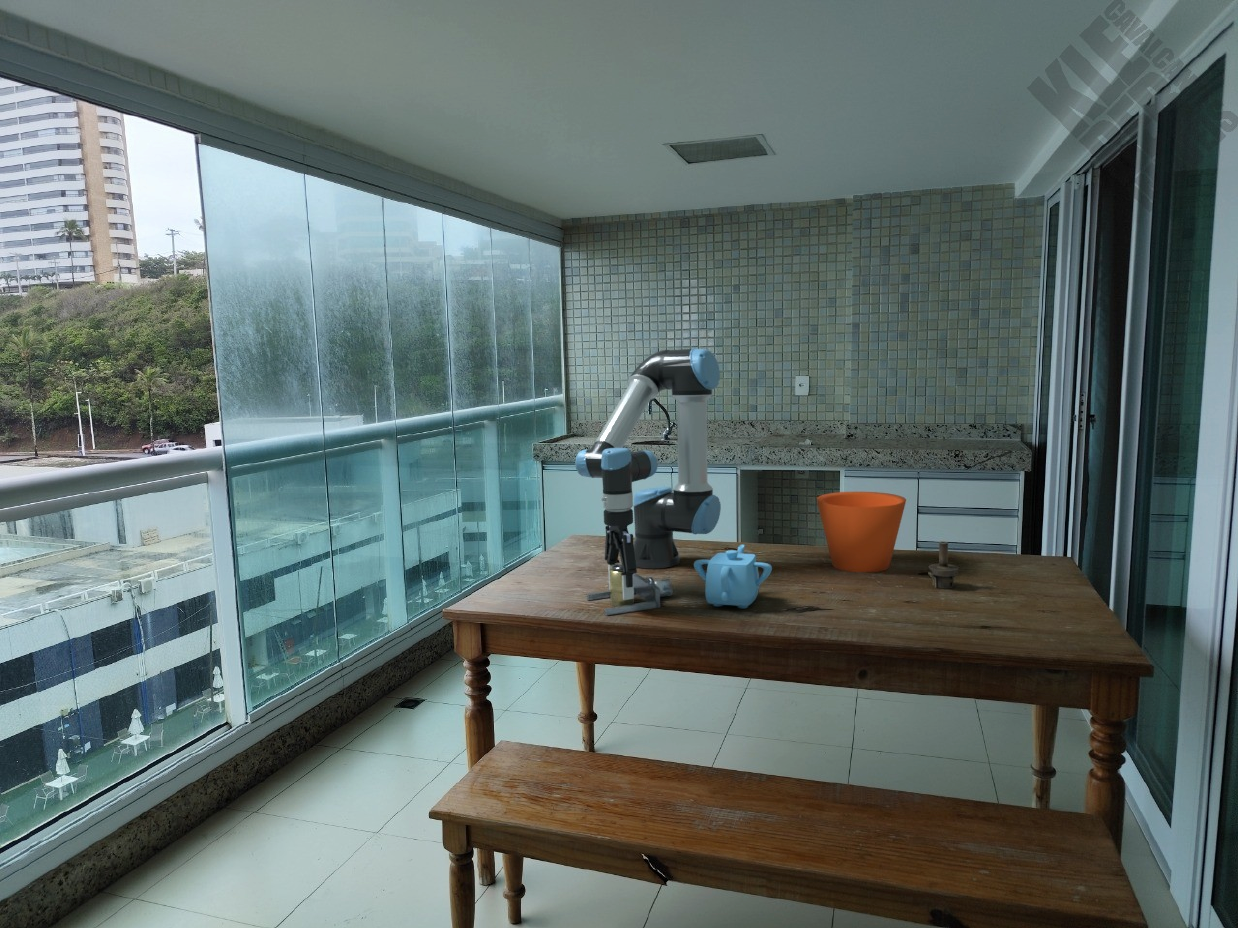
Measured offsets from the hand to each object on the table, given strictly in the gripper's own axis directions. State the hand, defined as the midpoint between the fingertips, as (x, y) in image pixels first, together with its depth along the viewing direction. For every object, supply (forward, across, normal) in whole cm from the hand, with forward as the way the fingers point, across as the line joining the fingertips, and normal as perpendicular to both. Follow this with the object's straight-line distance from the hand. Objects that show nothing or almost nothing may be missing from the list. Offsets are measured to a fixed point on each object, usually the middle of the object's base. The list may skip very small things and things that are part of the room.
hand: (621, 593), depth 213 cm
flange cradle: (+3, 0, +3) cm, 4 cm away
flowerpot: (+3, -2, +76) cm, 76 cm away
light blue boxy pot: (+3, +11, +27) cm, 29 cm away
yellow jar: (+3, 0, 0) cm, 3 cm away
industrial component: (+3, +26, +81) cm, 85 cm away
